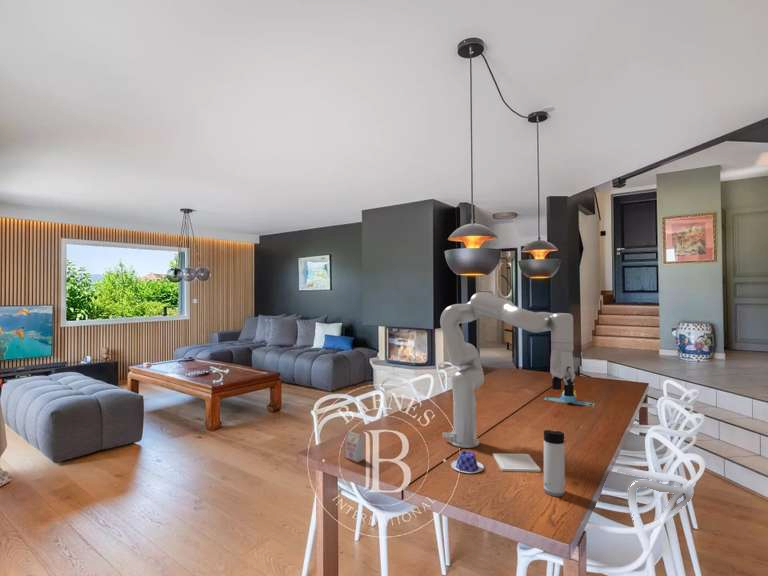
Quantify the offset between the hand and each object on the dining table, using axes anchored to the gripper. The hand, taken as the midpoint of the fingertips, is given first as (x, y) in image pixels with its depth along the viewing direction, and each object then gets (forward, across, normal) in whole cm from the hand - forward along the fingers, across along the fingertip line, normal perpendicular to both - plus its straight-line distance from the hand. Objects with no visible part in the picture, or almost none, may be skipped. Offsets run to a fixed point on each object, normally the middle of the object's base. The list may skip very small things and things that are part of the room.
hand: (562, 392), depth 149 cm
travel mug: (+28, +18, -11) cm, 35 cm away
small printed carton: (+28, -9, -78) cm, 83 cm away
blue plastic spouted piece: (+29, -89, +44) cm, 104 cm away
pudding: (+28, -1, -35) cm, 45 cm away
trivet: (+28, -5, -16) cm, 33 cm away
